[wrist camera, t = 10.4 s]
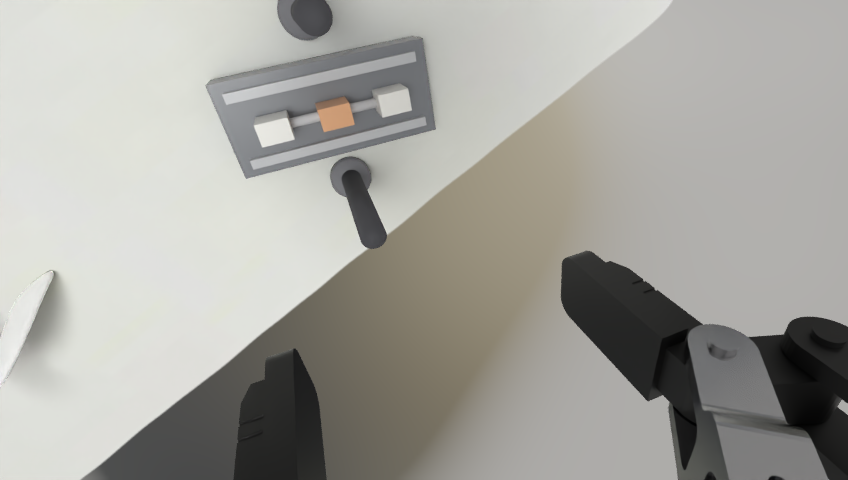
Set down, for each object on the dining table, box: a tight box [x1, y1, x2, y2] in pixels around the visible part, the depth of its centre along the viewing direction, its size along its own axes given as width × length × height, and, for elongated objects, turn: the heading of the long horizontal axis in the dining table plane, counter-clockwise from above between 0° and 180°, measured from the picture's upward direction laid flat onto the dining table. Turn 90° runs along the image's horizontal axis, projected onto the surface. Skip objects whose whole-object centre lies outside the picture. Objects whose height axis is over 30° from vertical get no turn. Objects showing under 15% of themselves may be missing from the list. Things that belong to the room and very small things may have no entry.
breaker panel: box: [206, 36, 436, 179], centre depth 36 cm, size 18×8×4 cm, turn 100°
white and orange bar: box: [254, 83, 412, 148], centre depth 34 cm, size 13×2×3 cm, turn 100°
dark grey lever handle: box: [330, 157, 387, 249], centre depth 36 cm, size 4×4×14 cm
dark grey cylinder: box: [277, 0, 332, 40], centre depth 28 cm, size 4×4×14 cm
